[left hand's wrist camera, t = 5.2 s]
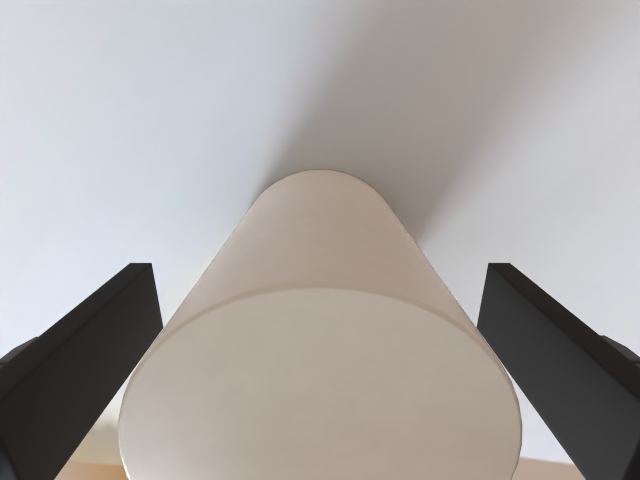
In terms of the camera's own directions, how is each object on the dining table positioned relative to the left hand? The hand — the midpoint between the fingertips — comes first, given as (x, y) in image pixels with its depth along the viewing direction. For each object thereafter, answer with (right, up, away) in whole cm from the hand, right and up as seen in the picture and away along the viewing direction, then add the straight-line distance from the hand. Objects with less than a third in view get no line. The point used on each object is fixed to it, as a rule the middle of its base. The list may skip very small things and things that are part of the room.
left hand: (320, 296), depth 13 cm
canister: (0, +2, +4) cm, 5 cm away
